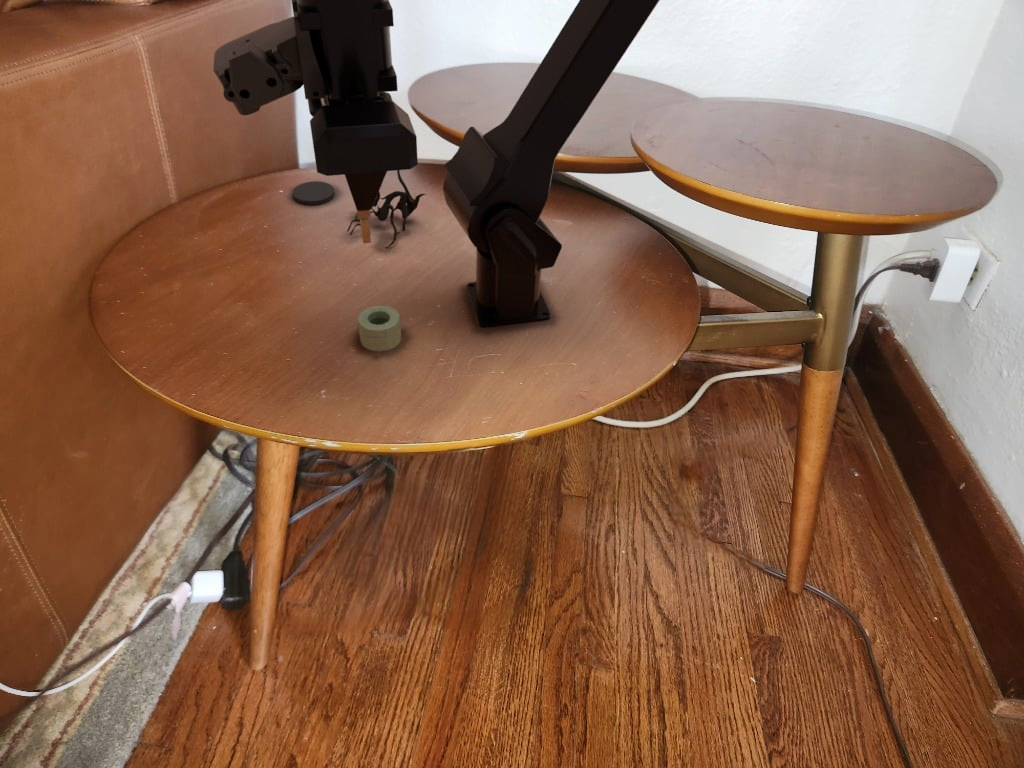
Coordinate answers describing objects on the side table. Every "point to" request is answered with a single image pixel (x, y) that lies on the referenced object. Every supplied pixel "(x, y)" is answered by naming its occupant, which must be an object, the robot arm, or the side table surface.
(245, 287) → the side table surface
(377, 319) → the pale green thick ring
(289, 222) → the side table surface
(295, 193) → the coaster
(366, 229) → the wooden stick
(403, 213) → the creature
